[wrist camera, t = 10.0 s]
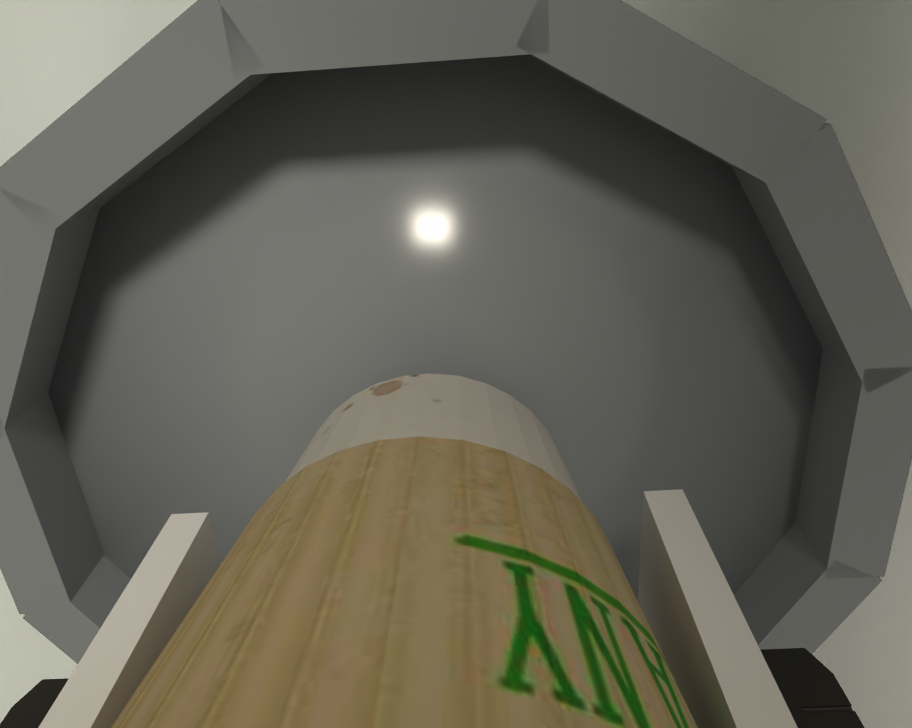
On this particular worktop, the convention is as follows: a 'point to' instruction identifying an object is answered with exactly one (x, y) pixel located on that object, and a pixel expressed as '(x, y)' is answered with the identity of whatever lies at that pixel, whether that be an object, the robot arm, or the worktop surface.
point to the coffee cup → (417, 587)
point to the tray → (447, 289)
